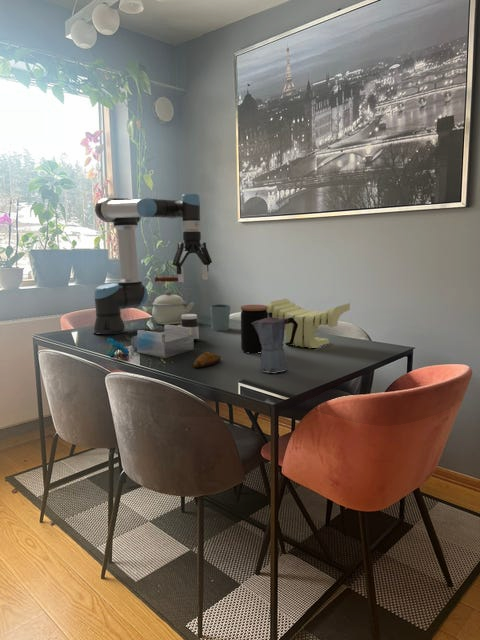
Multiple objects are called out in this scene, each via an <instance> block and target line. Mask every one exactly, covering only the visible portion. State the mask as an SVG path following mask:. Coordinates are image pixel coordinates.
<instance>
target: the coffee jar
mask: <svg viewBox="0 0 480 640" xmlns="http://www.w3.org/2000/svg"><path fill="white" fill-rule="evenodd" d="M240 309H241V312H240V334H241V335H240V341H241V342H240V346H241V347H240V348H241V350H242V352H243V351H244V352H243V353H245V352H249V353H258V352H261V351H262V344H261V343H260V340H259V335H258V333H257V331H256V329H255V328H254V326H253V325H252V323H253V322H254V321H258V320H261V319H265V318H268V312H267V309H268V305H265V304H245V305H241V306H240Z"/></svg>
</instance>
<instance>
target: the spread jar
mask: <svg viewBox="0 0 480 640" xmlns="http://www.w3.org/2000/svg"><path fill="white" fill-rule="evenodd" d="M181 317H182V320H181V323H180V324H177V326H182V327H189V328H191V333H192V335H193V343H196V342H198V341H199V339H200V338H199V337H200V335H199V333H200V332H199V320H198V315H197V314H196V313H188V314H184V315H181Z"/></svg>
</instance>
